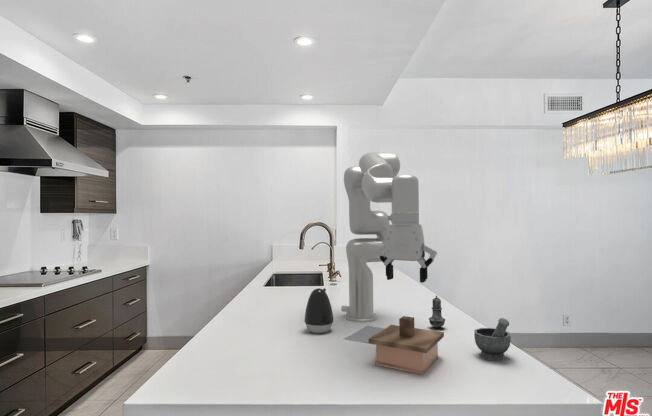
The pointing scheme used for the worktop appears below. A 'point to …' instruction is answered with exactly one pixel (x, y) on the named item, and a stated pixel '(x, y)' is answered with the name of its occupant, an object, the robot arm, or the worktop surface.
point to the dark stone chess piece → (437, 315)
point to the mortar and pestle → (493, 340)
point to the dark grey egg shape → (318, 312)
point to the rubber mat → (364, 334)
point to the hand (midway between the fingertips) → (406, 280)
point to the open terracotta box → (405, 358)
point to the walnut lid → (407, 336)
